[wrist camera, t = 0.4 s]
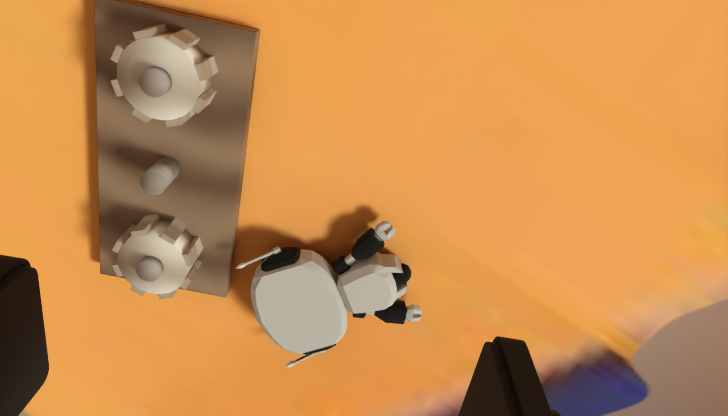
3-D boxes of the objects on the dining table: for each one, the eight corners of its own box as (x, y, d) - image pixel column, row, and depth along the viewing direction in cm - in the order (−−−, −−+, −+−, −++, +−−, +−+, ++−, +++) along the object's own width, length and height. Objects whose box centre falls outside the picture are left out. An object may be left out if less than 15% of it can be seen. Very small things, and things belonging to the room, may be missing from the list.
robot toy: (389, 200, 47) (238, 246, 49) (394, 222, 43) (228, 272, 45) (423, 304, 53) (285, 343, 54) (430, 333, 48) (280, 374, 50)
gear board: (104, -6, 39) (64, 1, 34) (260, 29, 40) (242, 41, 35) (107, 264, 50) (78, 298, 46) (230, 288, 51) (213, 324, 46)
